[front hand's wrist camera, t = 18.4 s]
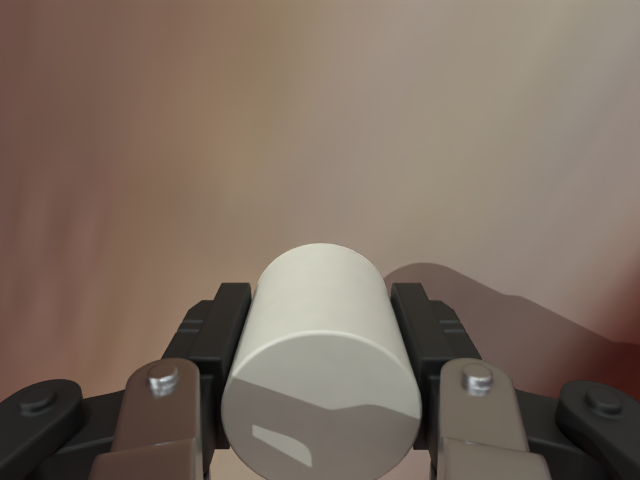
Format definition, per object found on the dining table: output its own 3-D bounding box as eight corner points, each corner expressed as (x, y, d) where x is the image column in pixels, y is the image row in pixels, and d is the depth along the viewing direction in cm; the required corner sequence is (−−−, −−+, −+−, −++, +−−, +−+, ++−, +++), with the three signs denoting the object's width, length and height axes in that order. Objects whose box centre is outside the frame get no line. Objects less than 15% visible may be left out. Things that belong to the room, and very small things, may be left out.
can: (229, 274, 12) (182, 376, 8) (357, 220, 12) (379, 299, 7) (289, 379, 13) (275, 516, 9) (407, 334, 13) (450, 458, 9)
